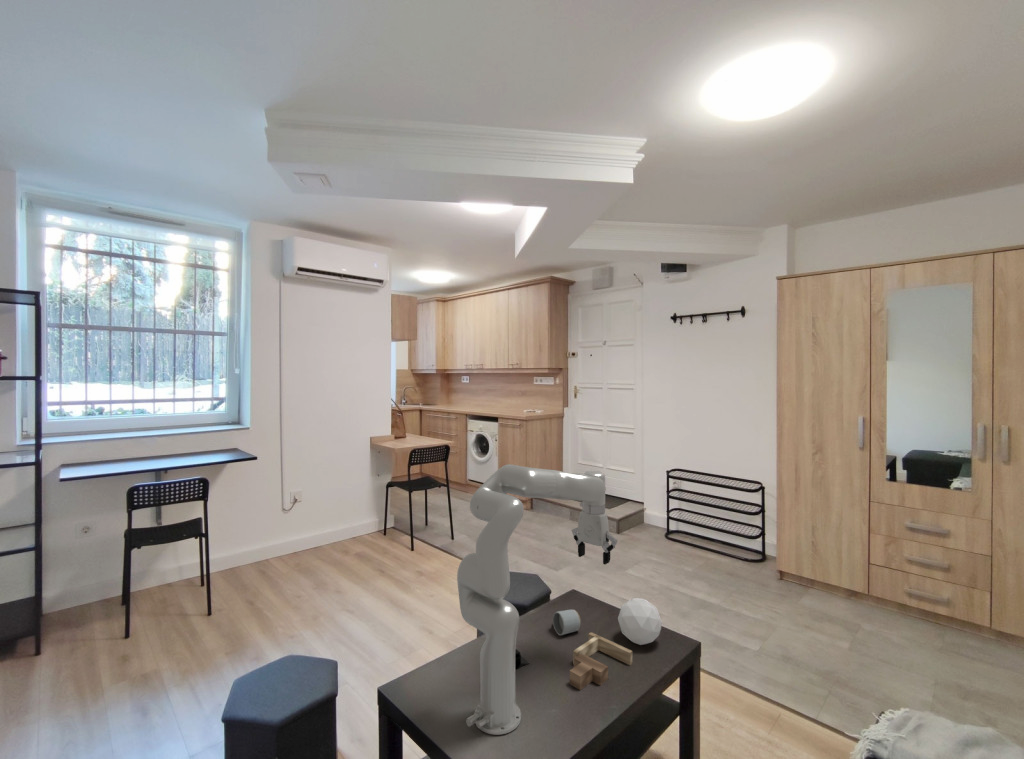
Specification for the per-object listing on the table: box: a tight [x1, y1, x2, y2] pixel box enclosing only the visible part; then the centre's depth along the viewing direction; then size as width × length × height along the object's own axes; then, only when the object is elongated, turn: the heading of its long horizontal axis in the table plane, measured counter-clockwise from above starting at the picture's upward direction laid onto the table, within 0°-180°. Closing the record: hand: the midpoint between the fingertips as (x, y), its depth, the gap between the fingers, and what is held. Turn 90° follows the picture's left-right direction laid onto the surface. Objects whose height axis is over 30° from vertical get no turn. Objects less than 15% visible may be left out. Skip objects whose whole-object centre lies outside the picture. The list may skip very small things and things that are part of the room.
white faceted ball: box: [617, 597, 663, 646], centre depth 164 cm, size 14×15×15 cm
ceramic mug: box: [552, 609, 582, 636], centre depth 171 cm, size 11×8×8 cm
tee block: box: [569, 653, 609, 691], centre depth 143 cm, size 10×10×4 cm
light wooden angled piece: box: [572, 631, 633, 666], centre depth 152 cm, size 14×16×4 cm
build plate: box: [515, 649, 531, 671], centre depth 150 cm, size 12×7×5 cm, turn 124°
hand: (593, 559), depth 158 cm, fingers open, 9 cm apart
